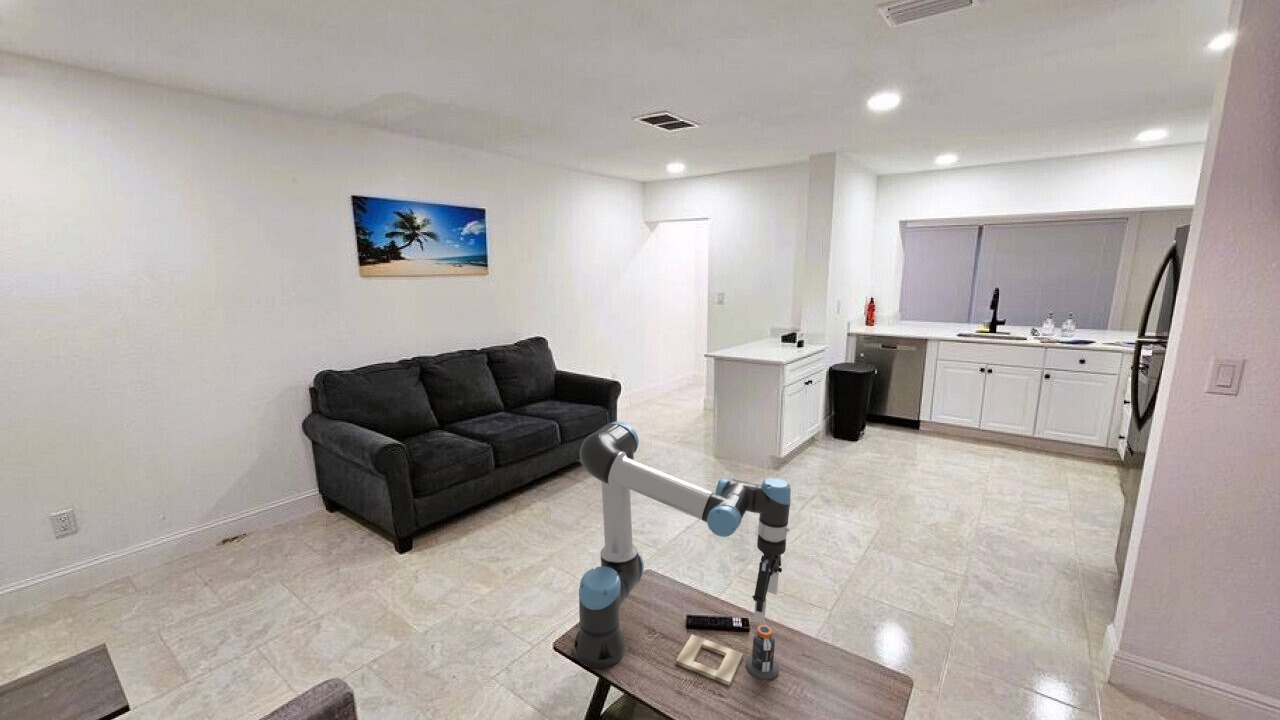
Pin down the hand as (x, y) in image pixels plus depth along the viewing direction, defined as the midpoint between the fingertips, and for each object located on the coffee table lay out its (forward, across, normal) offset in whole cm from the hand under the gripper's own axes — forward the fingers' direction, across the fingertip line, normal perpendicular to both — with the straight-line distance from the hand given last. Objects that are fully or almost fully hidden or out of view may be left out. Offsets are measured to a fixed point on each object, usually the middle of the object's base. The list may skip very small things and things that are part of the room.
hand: (765, 605), depth 144 cm
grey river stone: (+19, 0, -1) cm, 19 cm away
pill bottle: (+19, 0, 0) cm, 19 cm away
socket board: (+20, -5, +13) cm, 24 cm away
